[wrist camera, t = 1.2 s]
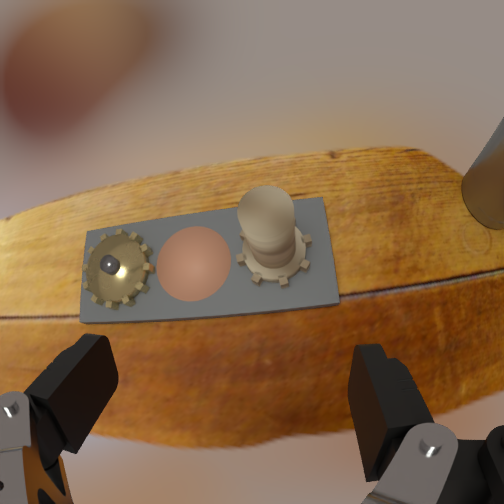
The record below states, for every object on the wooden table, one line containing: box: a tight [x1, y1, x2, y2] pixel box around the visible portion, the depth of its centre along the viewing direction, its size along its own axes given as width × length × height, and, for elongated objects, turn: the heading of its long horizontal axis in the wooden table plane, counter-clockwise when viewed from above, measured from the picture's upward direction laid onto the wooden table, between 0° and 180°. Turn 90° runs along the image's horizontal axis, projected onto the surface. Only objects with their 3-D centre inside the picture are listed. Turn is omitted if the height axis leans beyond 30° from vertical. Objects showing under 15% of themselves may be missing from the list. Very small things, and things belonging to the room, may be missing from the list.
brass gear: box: [82, 229, 155, 310], centre depth 35 cm, size 9×9×3 cm
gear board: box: [80, 197, 340, 324], centre depth 36 cm, size 30×12×2 cm, turn 94°
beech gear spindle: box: [236, 185, 312, 289], centre depth 30 cm, size 8×8×10 cm
